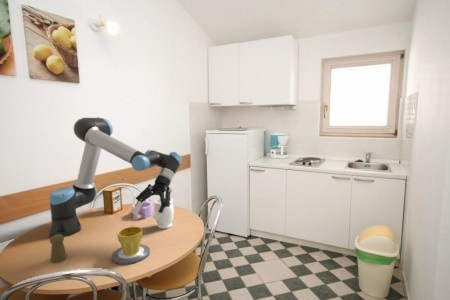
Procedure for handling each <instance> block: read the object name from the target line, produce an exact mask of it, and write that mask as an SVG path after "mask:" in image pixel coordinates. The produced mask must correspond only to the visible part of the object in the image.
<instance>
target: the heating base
mask: <svg viewBox="0 0 450 300" xmlns="http://www.w3.org/2000/svg"><path fill="white" fill-rule="evenodd" d="M150 253H151V250H150V247H149V246H148V245H146V244H144V243H143V244H142V243H140V248H139V252H138V253H136V254H134V255H125V254H124V253H123V250H122V247H119V248H118V249H116V250H114V252H113V253H112V254H111V259H112V262H113V263H115V264H117V265H124V266H125V265H133V264H136V263H139V262H141V261H144V260H145V259H147V258H148V257H149V255H150Z"/></svg>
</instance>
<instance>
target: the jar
mask: <svg viewBox="0 0 450 300" xmlns="http://www.w3.org/2000/svg"><path fill="white" fill-rule="evenodd" d="M173 202H174V199H173V198H171V197H170V206H169V207H168V206H167V207H165V208H164V210H163V212H162V213H161V214H160V216H159V218H158V220H156V219H155V220H156V222H157V228H158V229H162V230H163V229H164V230H165V229H169V228H172V227H173V219H174V214H175V211H174V204H173ZM153 204H155V206H154V213H155V212H156V210H157V209H158V207H159V205H161V200H160V198H159V199H156V200H154V201H153Z"/></svg>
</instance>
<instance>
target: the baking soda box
mask: <svg viewBox="0 0 450 300" xmlns="http://www.w3.org/2000/svg"><path fill="white" fill-rule="evenodd" d="M102 196H103V197H102V198H103V210H104V212H103V213H104V214H107V215H114V214H117V213H118V212H121V211H123V201H122V200H123V199H122V197H123V196H122V187H121V186H120V187H119V186H111V187H108V188H106V189H103V190H102Z"/></svg>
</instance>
